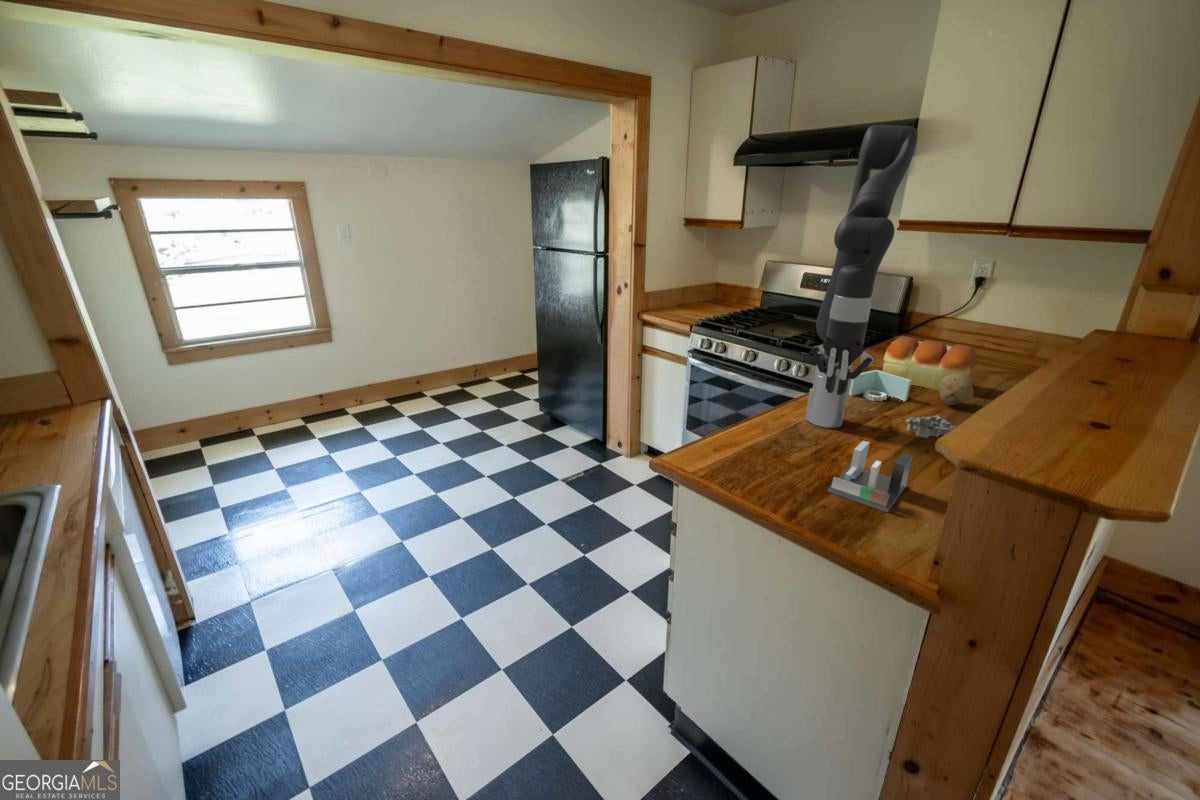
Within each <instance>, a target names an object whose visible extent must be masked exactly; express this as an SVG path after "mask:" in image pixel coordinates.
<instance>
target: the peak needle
mask: <svg viewBox="0 0 1200 800" xmlns="http://www.w3.org/2000/svg"><path fill="white" fill-rule="evenodd" d="M882 464H883V463H882V461H880V460H875V462H874V463H873V464H872V465H871V466H870V470H869V471H871V473H870V477H869V482H868V486H867V487H869V488H872V489H875V487H876V482H877V478H878V474H880V470H881V469H880V468H881V466H882Z"/></svg>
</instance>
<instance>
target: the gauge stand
mask: <svg viewBox="0 0 1200 800" xmlns="http://www.w3.org/2000/svg"><path fill="white" fill-rule="evenodd" d="M913 457H914V456H913V455H911V454H907V453H901V455H899V457H898V458H897V459H896V460H895V462H894V465H893V469H892V474H891V476H887V475H884V474H880V473H879V474H878V478H877V482H876V487H875V489H872V488H869V487H867V486H868V482H869V477H870V473H871V471H870V470H868V469H865V468H864V470H863V471H862V472H861V473H860V475H859V476H858V477H857V478H856V479H851V480H850V481H848V480H845V474H846V473H847V472H848V471H849V470H850V467H851V464H850V465H849V466H848V467H847V468H846V469H845V470H844V471H843V472H842V473H841V474H840V475H839V476H838V477H836V476H833V478H832V483H831V484H830V485H829V486H828V487H827V488H828V489H827V492H828V493H830V494H834V495H837V496H840V497H842V498H845V499H848V500H850V501H853V502H856V503H859V504H863V505H864V506H867V507H871V508H873V509H877V510H878V511H882V512H885V513H888V512H889V511H890V510H891V508H892V507H893V506H894V504H895V503H896V501H897V500H898V498H899V497H900V496H901V494H902V493H903V491H904V490H905V489H906V487H907V483H908V482H907V481H908V477H909V473H910V469H911V466H912V461H913Z"/></svg>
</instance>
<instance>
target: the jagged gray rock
mask: <svg viewBox="0 0 1200 800" xmlns="http://www.w3.org/2000/svg"><path fill="white" fill-rule="evenodd" d="M905 423H908V424H907V427H906V431H907V432H910V433H911V432H912V433H915V436H917V437H918V436H920V437H919V438H924V437H925V438H924V439H928V437H934V436H936V437H935V438H938V437H940V435H941V436H944V435H943V434H945V433H947V432H949V431H950V430H951V431H952V429H953V428H954V427H956V426H955V425H954V426H953V425H952V422H948V420H946V419H945V418H942V417H941V416H939V414H935V415H932V416H925V415H924V416H920V417H912V416H909V417H907V418H906V419H905ZM956 428H957V427H956ZM954 429H955V428H954Z"/></svg>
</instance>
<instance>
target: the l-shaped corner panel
mask: <svg viewBox="0 0 1200 800" xmlns="http://www.w3.org/2000/svg"><path fill="white" fill-rule="evenodd" d="M882 371H883V370H878V369H873V370H870V371H869V370H868V371H863V372H862V373H861V374H860V375H859V376H858V377H856V378H855V379H851V380H850V386H849V391H848V396H849V395H850V396H849V397H853V396H856V395H857V394H858V395H862V394H863V398H865V399H866V400H869V401H871V400H872V401H874V402H884V401H883V400H885V401H886V400H887V399H888V397H890V396H891V398H893V397H895V398H898V399H900V400H899V401H901V400H903V401H902V402H904V401H905V402H907V401H908V397H909V394H910V388H911V380H909V379H906V378H902V377H899V376H896V375H892V374H889V373H886V372H882ZM861 393H862V394H861ZM852 395H853V396H852ZM887 395H888V396H887ZM895 398H894V399H895ZM898 399H897V400H898ZM906 400H907V401H906Z"/></svg>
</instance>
